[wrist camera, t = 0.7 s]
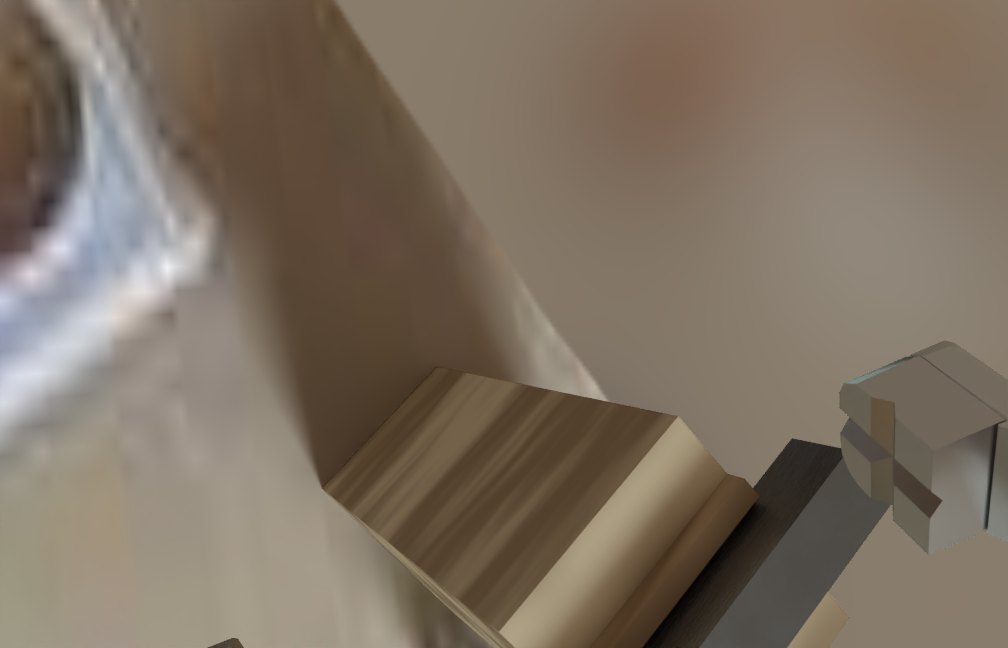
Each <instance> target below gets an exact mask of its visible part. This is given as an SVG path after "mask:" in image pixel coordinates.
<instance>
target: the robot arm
mask: <svg viewBox="0 0 1008 648" xmlns="http://www.w3.org/2000/svg"><path fill="white" fill-rule="evenodd" d="M840 409H842V410H843V411H844V412H845V413H846V414H847V415H848V416H849V419H848V421H847V422H846V424H845V426H844V428H843V429H842V431H841V433H840V437H841V452H842V455H843V458H844V460H845V463H846V465H847V468H848V470H849V472H850V474H851V475H852V477H853V478H854V480H855V481H856V483H857V484H858V485H859V486H860V487H861V489H862V490H863V491H864V492H865V493H866V494H867V495H868V496H869V497H870V498H872V499H875V500H878V501H881V502H885V503H888V504H891V505H893V521H894V522H895V523H896V524H897V525H898V526H899V527H901V529H902V530H903V531H904V532H905V533H906V534H907V535H908V536H909V537H910V538H911V539H913V541H915V543H916V544H918V545H919V546H920V547H921V548H922V549H923V550H924V551H925V552H926V553H927V554H928V555H930V554H932V553H935V552H937V551H940V550H942V549H944V548H947V547H949V546H951V545H954V544H956V543H958V542H961V541H963V540H966V539H968V538H970V537H973V536H975V535H978V534H980V533H983V532H985V531H987V534H988V535H990V536H993V537H995V538H998V539H1000V540H1003V541H1005V542H1008V380H1007V379H1005V378H1004V377H1003V376H1001V375H1000V374H998V373H997V372H996V371H994V370H993V369H991V368H990V367H988V366H987V365H986V364H984V363H983V362H981V361H980V360H978V359H977V358H976V357H974V356H972V355H971V354H970V353H968V352H967V351H965V350H964V349H962V348H961V347H960V346H958V345H957V344H955V343H953V342H948V341H942V342H940V343H937V344H935V345H933V346H930V347H928V348H926V349H924V350H921V351H919V352H916V353H914V354H911V355H910V356H909V357H904V358H902V359H900V360H897V361H895V362H893V363H890V364H888V365H886V366H883V367H881V368H879V369H877V370H874V371H872V372H869V373H867V374H865V375H862V376H860V377H858V378H855V379H853V380H851V381H848V382H846V383H844V384H843V386H842V388H841V391H840ZM208 648H244V647H243V646H242V644H241V643H240V641H239V640H238V639H236V638H231V639H229V640H226V641H224V642H221V643H219V644H216V645H213V646H211V647H208Z"/></svg>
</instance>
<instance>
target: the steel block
mask: <svg viewBox="0 0 1008 648" xmlns="http://www.w3.org/2000/svg"><path fill="white" fill-rule="evenodd" d="M753 489H754V491H755V492H756V493H757V494H758V495H759V498H758V499H757V500H756V501H755V503H754V504H753V505H752V507H751V508H750V509H749V510H748V512H747V513H746V514H745V516H744V517H743V518H742V520H741V521H740V522H739V523H738V525H737V526H736V527H735V529H734V530H733V531H732V532H731V534H730V535H729V536H728V538H727V539H726V540H725V541H724V543H723V544H722V545H721V547H720V548H719V549H718V550H717V552H716V553H715V554H714V556H713V557H712V558H711V559H710V561H709V562H708V563H707V565H706V566H705V567H704V569H703V570H702V571H701V572H700V574H699V575H698V576H697V578H696V579H695V580H694V581H693V583H692V584H691V585H690V587H689V588H688V589H687V590H686V592H685V593H684V594H683V596H682V597H681V598H680V599H679V601H678V602H677V603H676V605H675V606H674V607H673V608H672V610H671V611H670V612H669V614H668V615H667V616H666V618H665V619H664V620H663V621H662V623H661V624H660V625H659V627H658V628H657V629H656V630H655V632H654V633H653V634H652V636H651V637H650V638H649V639H648V641H647V642H646V643H645V645H644V646H643V647H642V648H787V647H788V646H789V645H790V643H791V642H792V640H793V639H794V638H795V636H796V635H797V633H798V632H799V631H800V629H801V628H802V627H803V625H804V624H805V622H806V621H807V620H808V618H809V617H810V616H811V614H812V613H813V611H814V610H815V609H816V607H817V606H818V604H819V603H820V602H821V600H822V599H823V598H824V596H825V595H826V593H827V592H828V591H829V589H830V588H831V586H832V585H833V584H834V582H835V581H836V580H837V578H838V577H839V575H840V574H841V573H842V571H843V570H844V569H845V567H846V566H847V564H848V563H849V562H850V560H851V559H852V558H853V556H854V555H855V553H856V552H857V550H858V549H859V548H860V546H861V545H862V544H863V542H864V541H865V540H866V538H867V537H868V535H869V534H870V533H871V531H872V530H873V529H874V527H875V525H876V524H877V523H878V522H879V520H880V519H881V517H882V516H883V515H884V513H885V512H886V510H887V509H888V508H889V506H890V505H891V504H888V503H885V502H881V501H878V500H875V499H872V498H870V497H869V496H868V495H867V494H866V493H865V492H864V491H863V490H862V489H861V487H860V486H859V485H858V484H857V483H856V481H855V480H854V478H853V477H852V475H851V474H850V472H849V470H848V468H847V465H846V463H845V460H844V458H843V455H842V452H841V448H836V447H831V446H827V445H822V444H817V443H812V442H807V441H802V440H797V439H791V441H790V442H789V443H788V444H787V445H786V447H785V448H784V449H783V451H782V452H781V453H780V454H779V456H778V457H777V458H776V460H775V461H774V462H773V463H772V465H771V466H770V467H769V469H768V470H767V471H766V472H765V474H764V475H763V476H762V478H761V479H760V480H759V481H758V483H757V484H756V485H755V486H754V488H753Z"/></svg>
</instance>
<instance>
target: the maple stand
mask: <svg viewBox="0 0 1008 648" xmlns="http://www.w3.org/2000/svg"><path fill="white" fill-rule="evenodd" d="M322 489H323V490H324V491H325V492H326V493H327V494H328V495H329V496H331V497H332V498H333V499H334V500H335V501H336V502H337V503H338V504H339V505H340V506H341V507H342V508H343V509H344V510H345V511H346V512H347V513H349V514H350V515H351V516H352V517H353V518H354V519H355V520H356V521H357V522H358V523H359V524H360V525H361V526H362V527H363V528H364V529H365V530H367V531H368V532H369V533H370V534H371V535H372V536H373V537H374V538H375V539H376V540H377V541H378V542H379V543H380V544H381V545H382V546H383V547H385V548H386V549H387V550H388V551H389V552H390V553H391V554H392V555H393V556H394V557H395V558H396V559H397V560H398V561H399V562H400V563H401V564H403V565H404V566H405V567H406V568H407V569H408V570H409V571H410V572H411V573H412V574H413V575H414V576H415V577H416V578H417V579H418V580H419V581H420V582H422V583H423V584H424V585H425V586H426V587H427V588H428V589H429V590H430V591H431V592H432V593H433V594H434V595H435V596H436V597H437V598H438V599H440V600H441V601H442V602H443V603H444V604H445V605H446V606H447V607H448V608H449V609H450V610H451V611H452V612H453V613H454V614H455V615H457V616H458V617H459V618H460V619H461V620H462V621H464V622H465V623H466V624H467V625H468V626H469V627H471V628H472V629H473V630H474V631H475V632H476V633H478V634H479V635H480V636H481V637H482V638H483V639H485V640H486V641H487V642H488V643H489V644H490V645H492V646H493V647H494V648H642V647H643V646H644V645H645V643H646V642H647V641H648V639H649V638H650V637H651V636H652V634H653V633H654V632H655V630H656V629H657V628H658V627H659V625H660V624H661V623H662V621H663V620H664V619H665V618H666V616H667V615H668V614H669V612H670V611H671V610H672V608H673V607H674V606H675V605H676V603H677V602H678V601H679V599H680V598H681V597H682V596H683V594H684V593H685V592H686V590H687V589H688V588H689V587H690V585H691V584H692V583H693V581H694V580H695V579H696V578H697V576H698V575H699V574H700V572H701V571H702V570H703V569H704V567H705V566H706V565H707V563H708V562H709V561H710V559H711V558H712V557H713V556H714V554H715V553H716V552H717V550H718V549H719V548H720V547H721V545H722V544H723V543H724V541H725V540H726V539H727V538H728V536H729V535H730V534H731V532H732V531H733V530H734V529H735V527H736V526H737V525H738V523H739V522H740V521H741V520H742V518H743V517H744V516H745V514H746V513H747V512H748V510H749V509H750V508H751V507H752V505H753V504H754V503H755V501H756V500H757V499H758V498H759V495H758V494H757V493H756V492H755V491H754V489H753V488H752V487H751V486H750V485H749V484H748V482H747V481H746V480H745V479H744V478H740V477H737V476H733V475H730V474H727V473H726V472H725V470H724V469H723V468H722V467H721V466H720V465H719V463H718V462H717V461H716V460H715V459H714V458H713V456H712V455H711V454H710V453H709V452H708V450H706V448H705V447H704V446H703V445H702V443H701V442H700V441H699V440H698V439H697V438H696V436H695V435H694V434H693V433H692V432H691V431H690V430H689V428H688V427H687V426H686V425H685V424H684V422H683V421H682V420H681V419H680V418H679V417H678V416H675V415H670V414H665V413H659V412H655V411H650V410H645V409H640V408H635V407H631V406H625V405H621V404H616V403H611V402H606V401H601V400H596V399H592V398H587V397H582V396H577V395H572V394H567V393H562V392H557V391H553V390H548V389H543V388H538V387H533V386H528V385H523V384H518V383H514V382H509V381H504V380H499V379H494V378H489V377H484V376H479V375H475V374H470V373H465V372H460V371H455V370H450V369H445V368H440V367H436V368H435V369H434V370H433V372H432V373H431V374H430V375H429V376H428V377H427V378H426V379H425V380H424V381H423V382H422V383H421V384H420V385H419V386H418V387H417V389H416V390H415V391H414V392H413V393H412V394H411V395H410V396H409V397H408V398H407V399H406V400H405V401H404V402H403V403H402V404H401V405H400V407H399V408H398V409H397V410H396V411H395V412H394V413H393V414H392V415H391V416H390V417H389V418H388V419H387V420H386V421H385V422H384V424H383V425H382V426H381V427H380V428H379V429H378V430H377V431H376V432H375V433H374V434H373V435H372V436H371V437H370V438H369V439H368V441H367V442H366V443H365V444H364V445H363V446H362V447H361V448H360V449H359V450H358V451H357V452H356V453H355V454H354V455H353V456H352V457H351V459H350V460H349V461H348V462H347V463H346V464H345V465H344V466H343V467H342V468H341V469H340V470H339V471H338V472H337V473H336V474H335V476H334V477H333V478H332V479H331V480H330V481H329V482H328V483H327V484H326V485H325V486H324V487H323V488H322ZM849 618H850V617H849V615H848V614H847V613H846V612H845V611H844V610H843V608H842V607H841V606H840V605H839V604H838V603H837V601H836V600H835V599H834V598H833V597H832V596H831V594H830V593H829V592H827V593H826V595H825V596H824V598H823V599H822V600H821V602H820V603H819V604H818V606H817V607H816V609H815V610H814V611H813V613H812V614H811V616H810V617H809V618H808V620H807V621H806V622H805V624H804V625H803V627H802V628H801V629H800V631H799V632H798V633H797V635H796V636H795V638H794V639H793V640H792V642H791V643H790V645H789V646H788V647H787V648H829V646H830V645H831V644H832V642H833V641H834V639H835V638H836V637H837V635H838V634H839V632H840V631H841V629H842V628H843V627H844V625H845V624H846V622H847V621H848V620H849Z"/></svg>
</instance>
